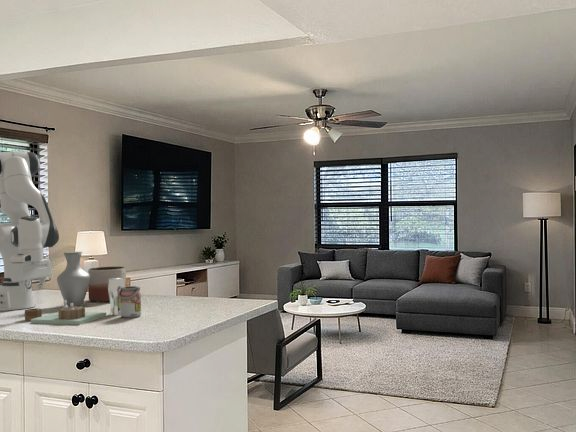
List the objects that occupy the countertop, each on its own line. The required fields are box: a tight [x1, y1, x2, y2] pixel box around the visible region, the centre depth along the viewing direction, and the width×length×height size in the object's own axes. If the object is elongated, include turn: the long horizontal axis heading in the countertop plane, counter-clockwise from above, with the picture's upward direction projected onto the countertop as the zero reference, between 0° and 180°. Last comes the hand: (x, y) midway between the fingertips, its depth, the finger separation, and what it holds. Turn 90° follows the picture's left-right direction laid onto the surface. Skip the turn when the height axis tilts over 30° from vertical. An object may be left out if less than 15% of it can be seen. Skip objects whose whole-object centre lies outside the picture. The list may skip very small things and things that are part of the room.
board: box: [30, 300, 107, 326], centre depth 228 cm, size 22×18×7 cm
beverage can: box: [118, 285, 142, 319], centre depth 231 cm, size 9×8×12 cm
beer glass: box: [108, 278, 125, 316], centre depth 238 cm, size 7×7×15 cm
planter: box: [87, 265, 127, 303], centre depth 279 cm, size 18×18×16 cm
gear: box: [24, 307, 43, 322], centre depth 230 cm, size 6×6×4 cm
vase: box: [56, 251, 90, 307], centre depth 263 cm, size 14×14×25 cm
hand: (32, 290), depth 230 cm, fingers open, 8 cm apart
